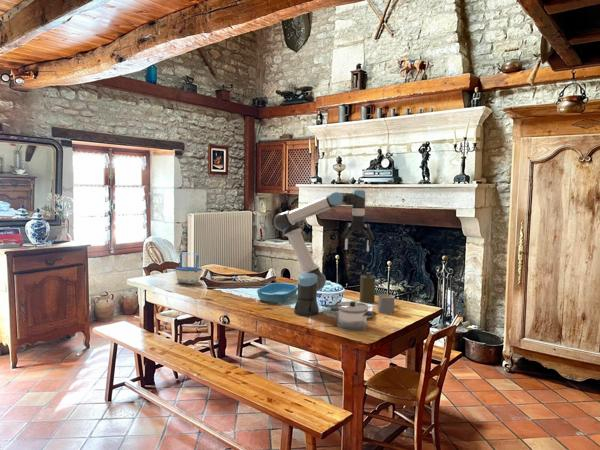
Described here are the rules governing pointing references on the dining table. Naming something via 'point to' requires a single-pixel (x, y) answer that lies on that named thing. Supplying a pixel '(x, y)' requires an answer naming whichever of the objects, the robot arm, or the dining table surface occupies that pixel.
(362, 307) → the lid
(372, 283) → the canister
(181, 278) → the basket
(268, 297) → the casserole dish
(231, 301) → the dining table surface
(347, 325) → the pressure cooker pot
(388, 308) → the coffee mug
